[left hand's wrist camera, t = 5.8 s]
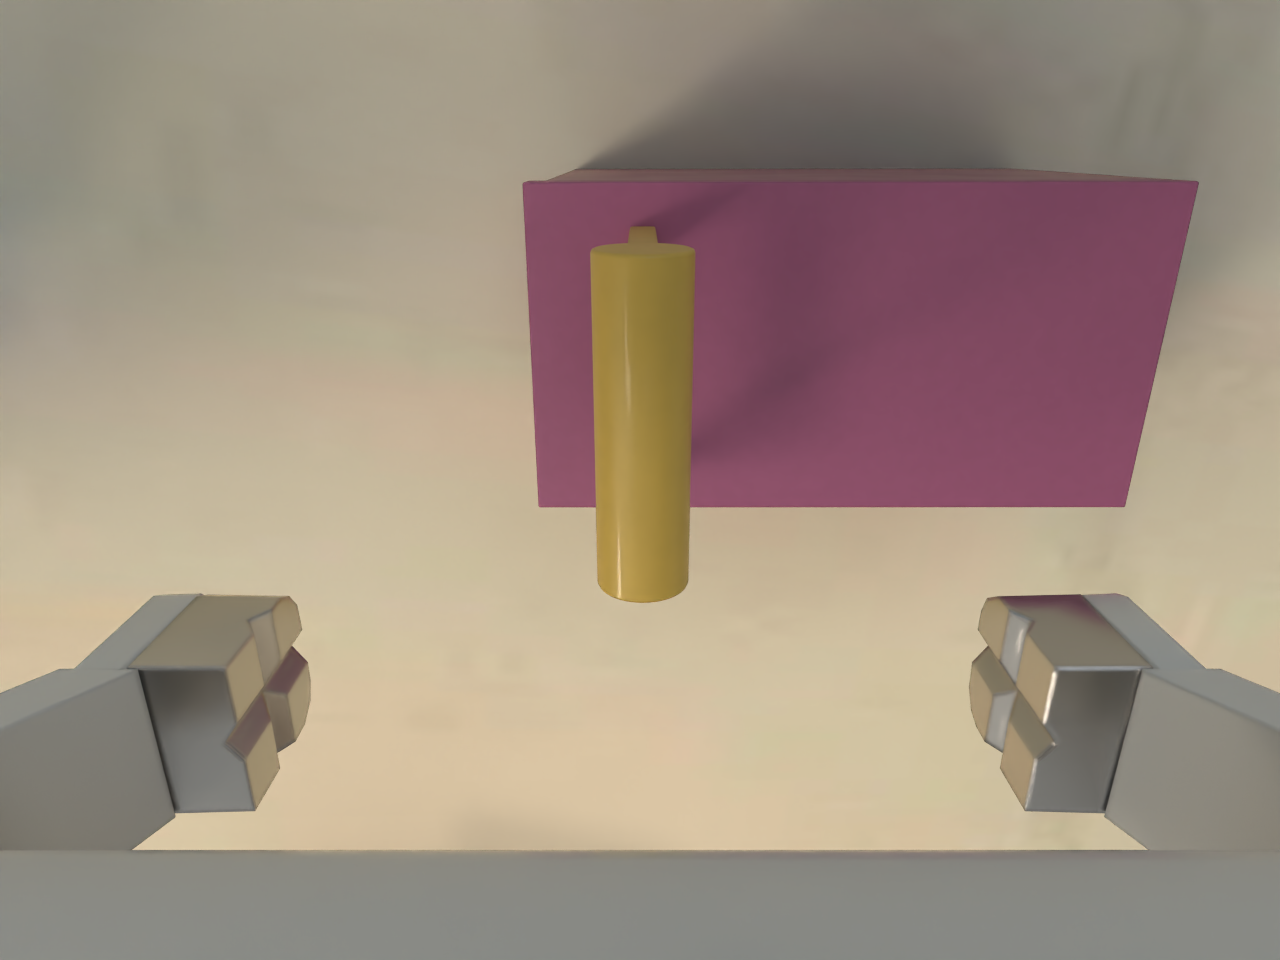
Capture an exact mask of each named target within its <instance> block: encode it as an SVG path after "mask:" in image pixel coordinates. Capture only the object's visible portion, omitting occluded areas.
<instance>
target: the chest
mask: <svg viewBox="0 0 1280 960" xmlns="http://www.w3.org/2000/svg"><path fill="white" fill-rule="evenodd" d="M736 180H1171V179H1156V178H1142V177H1127V176H1112V175H1098V174H1083V173H1068V172H1054V171H1039V170H1024V169H575V170H573V171H570V172H568V173H565V174H562V175H560V176H557V177H555V178H552V179H550V180H547V181H736Z"/></svg>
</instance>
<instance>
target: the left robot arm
mask: <svg viewBox="0 0 1280 960" xmlns="http://www.w3.org/2000/svg"><path fill="white" fill-rule="evenodd" d="M301 631H302V626H301V621H300V617H299V612H298V607H297V604H296V603H295V602H294V601H293V600H292V599H291V598H290V596H260V595H203V594H167V595H157V596H153V597H152V598H151V599H150V600H149V601H147V602H146V603H145V604H144V605H143V606H142V607H141V608H140V609H139V610H138V611H137V612H135V613H134V614H133V615H132V616H131V617H130V618H129V619H128V620H127V621H126V622H125V623H124V624H122V625H121V626H120V627H119V628H118V629H117V630H116V631H115V632H114V633H113V634H112V635H110V636H109V637H108V638H107V639H106V640H105V641H104V642H103V643H102V644H101V645H100V646H98V647H97V648H96V649H95V650H94V651H93V652H92V653H91V654H90V655H89V656H88V657H86V658H85V659H84V660H83V661H82V662H81V663H80V664H79V665H78V666H77V667H76V668H74V669H58V670H56V671H53V672H51V673H49V674H46V675H44V676H41V677H39V678H36V679H34V680H31V681H29V682H26V683H24V684H22V685H19V686H17V687H14V688H12V689H9V690H7V691H4V692H2V693H0V960H1280V693H1278V692H1275V691H1273V690H1271V689H1268V688H1266V687H1263V686H1261V685H1258V684H1256V683H1253V682H1251V681H1249V680H1246V679H1244V678H1241V677H1239V676H1236V675H1234V674H1231V673H1229V672H1227V671H1224V670H1222V669H1206V668H1205V667H1203V666H1202V665H1201V664H1200V663H1199V662H1198V661H1197V660H1196V659H1195V658H1194V657H1193V656H1192V655H1190V654H1189V653H1188V652H1187V651H1186V650H1185V649H1184V648H1183V647H1182V646H1181V645H1180V644H1178V643H1177V642H1176V641H1175V640H1174V639H1173V638H1172V637H1171V636H1170V635H1169V634H1168V633H1166V632H1165V631H1164V630H1163V629H1162V628H1161V627H1160V626H1159V625H1158V624H1157V623H1156V622H1155V621H1153V620H1152V619H1151V618H1150V617H1149V616H1148V615H1147V614H1146V613H1145V612H1144V611H1143V610H1141V609H1140V608H1139V607H1138V606H1137V605H1136V604H1135V603H1134V602H1133V601H1132V600H1131V599H1130V598H1128V597H1126V596H1123V595H1120V594H1116V593H1114V594H1091V595H1081V594H1078V595H1036V596H997V597H991V598H987V600H986V602H985V604H984V606H983V608H982V610H981V615H980V620H979V626H978V631H979V632H980V634H981V635H982V637H983V638H984V640H985V642H986V643H987V645H988V646H987V647H986V648H985V650H984V651H983V652H982V653H981V654H980V655H979V656H978V657H977V658H976V659H975V660H974V661H973V662H972V668H971V675H970V683H969V693H970V704H971V711H972V714H973V718H974V721H975V724H976V727H977V729H978V730H979V732H980V734H981V736H982V738H983V740H984V741H985V742H986V743H988V744H989V745H991V746H993V747H994V748H996V749H997V750H999V751H1001V752H1002V753H1003V755H1002V760H1001V765H1000V769H1001V771H1002V773H1003V774H1004V776H1005V778H1006V779H1007V781H1008V783H1009V785H1010V786H1011V788H1012V790H1013V791H1014V793H1015V795H1016V797H1017V798H1018V800H1019V802H1020V803H1021V805H1022V807H1023V808H1024V810H1025V811H1042V812H1079V813H1105V815H1104V817H1105V818H1107V819H1108V820H1109V821H1111V822H1112V823H1113V824H1115V825H1116V826H1117V827H1119V828H1120V829H1121V830H1123V831H1124V832H1125V833H1127V834H1128V835H1129V836H1131V837H1132V838H1133V839H1135V840H1136V841H1137V842H1139V843H1140V844H1141V845H1143V846H1144V847H1145V848H1147V849H1148V850H132V849H134V848H135V847H136V846H138V845H139V844H140V843H142V842H143V841H144V840H146V839H147V838H148V837H150V836H151V835H152V834H154V833H155V832H156V831H158V830H159V829H160V828H162V827H163V826H164V825H166V824H167V823H168V822H170V821H171V820H172V819H174V818H175V813H200V812H236V811H255V810H256V809H257V807H258V805H259V804H260V802H261V800H262V798H263V797H264V795H265V793H266V792H267V790H268V788H269V786H270V785H271V783H272V781H273V780H274V778H275V776H276V774H277V773H278V771H279V769H280V765H279V760H278V754H277V753H278V752H279V751H281V750H283V749H284V748H286V747H287V746H289V745H291V744H292V743H294V742H295V741H296V740H297V738H298V736H299V734H300V732H301V730H302V728H303V727H304V725H305V721H306V717H307V713H308V709H309V704H310V692H311V680H310V673H309V667H308V662H307V661H306V660H305V659H304V658H303V657H302V656H301V655H300V654H299V653H298V652H297V651H296V650H295V648H294V647H293V646H292V645H293V643H294V642H295V640H296V638H297V637H298V635H299V634H300V632H301Z"/></svg>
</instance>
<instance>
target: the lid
mask: <svg viewBox="0 0 1280 960" xmlns="http://www.w3.org/2000/svg"><path fill="white" fill-rule="evenodd" d="M1198 184H1199V182H1197V181H1186V180H736V181H527V182H524V183H523V201H524V222H525V242H526V262H527V282H528V302H529V322H530V342H531V362H532V382H533V403H534V423H535V443H536V463H537V483H538V503H539V507H596V530H597V574H598V584H599V586H600V587H601V589H602V590H603V591H604V592H605V593H607V594H608V595H610V596H612V597H614V598H617V599H620V600H624V601H629V602H638V603H648V602H657V601H662V600H666V599H669V598H672V597H674V596H676V595H678V594H679V593H681V592H682V591H683V590H684V589H685V587H686V585H687V583H688V569H689V523H690V507H1125V504H1126V499H1127V495H1128V490H1129V486H1130V482H1131V477H1132V473H1133V469H1134V464H1135V460H1136V455H1137V451H1138V447H1139V442H1140V438H1141V434H1142V429H1143V425H1144V420H1145V416H1146V412H1147V407H1148V403H1149V398H1150V394H1151V390H1152V385H1153V381H1154V377H1155V372H1156V368H1157V363H1158V359H1159V355H1160V350H1161V346H1162V342H1163V337H1164V333H1165V328H1166V324H1167V320H1168V315H1169V311H1170V306H1171V302H1172V298H1173V293H1174V289H1175V285H1176V280H1177V276H1178V271H1179V267H1180V263H1181V258H1182V254H1183V250H1184V245H1185V241H1186V236H1187V232H1188V228H1189V223H1190V219H1191V214H1192V210H1193V206H1194V201H1195V197H1196V193H1197V188H1198Z"/></svg>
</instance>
